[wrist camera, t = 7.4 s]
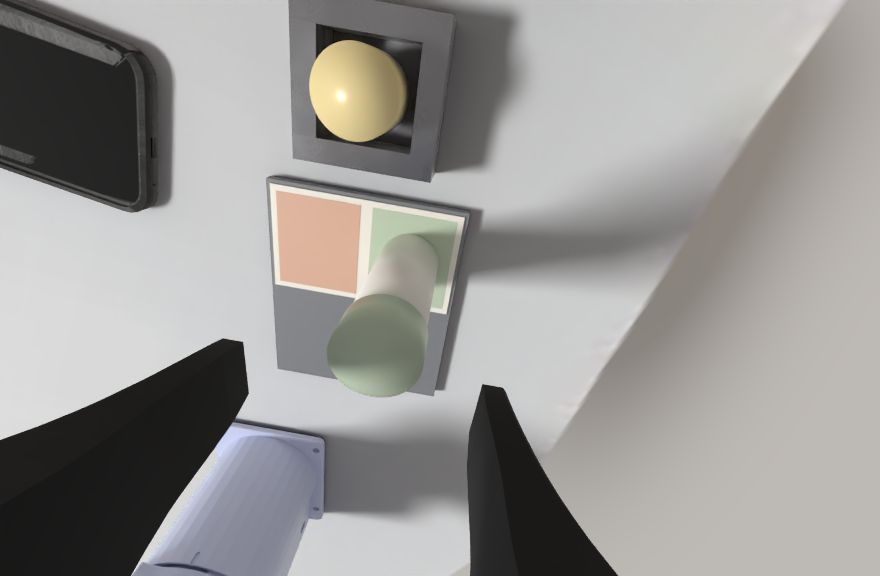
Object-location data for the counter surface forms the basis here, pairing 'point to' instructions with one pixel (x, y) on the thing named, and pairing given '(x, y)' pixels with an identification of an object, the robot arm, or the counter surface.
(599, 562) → the robot arm
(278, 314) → the picture board
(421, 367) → the marker
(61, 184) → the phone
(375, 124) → the button
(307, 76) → the button collar
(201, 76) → the counter surface
